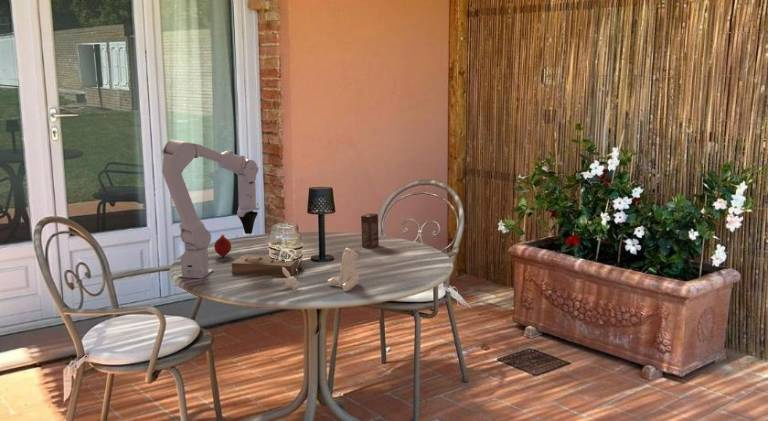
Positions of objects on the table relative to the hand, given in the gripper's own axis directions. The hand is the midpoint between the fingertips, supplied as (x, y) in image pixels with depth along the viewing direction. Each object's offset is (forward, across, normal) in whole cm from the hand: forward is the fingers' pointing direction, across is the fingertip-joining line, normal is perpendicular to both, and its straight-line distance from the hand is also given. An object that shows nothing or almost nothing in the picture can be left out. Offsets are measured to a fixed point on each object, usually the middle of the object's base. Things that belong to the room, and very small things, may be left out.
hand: (248, 233), depth 266 cm
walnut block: (+10, -8, -9) cm, 16 cm away
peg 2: (+10, -8, -14) cm, 19 cm away
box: (+11, +31, -36) cm, 49 cm away
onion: (+11, +6, +12) cm, 17 cm away
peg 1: (+10, -8, -4) cm, 13 cm away
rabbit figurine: (+11, -25, -21) cm, 34 cm away
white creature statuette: (+11, -20, -39) cm, 45 cm away
